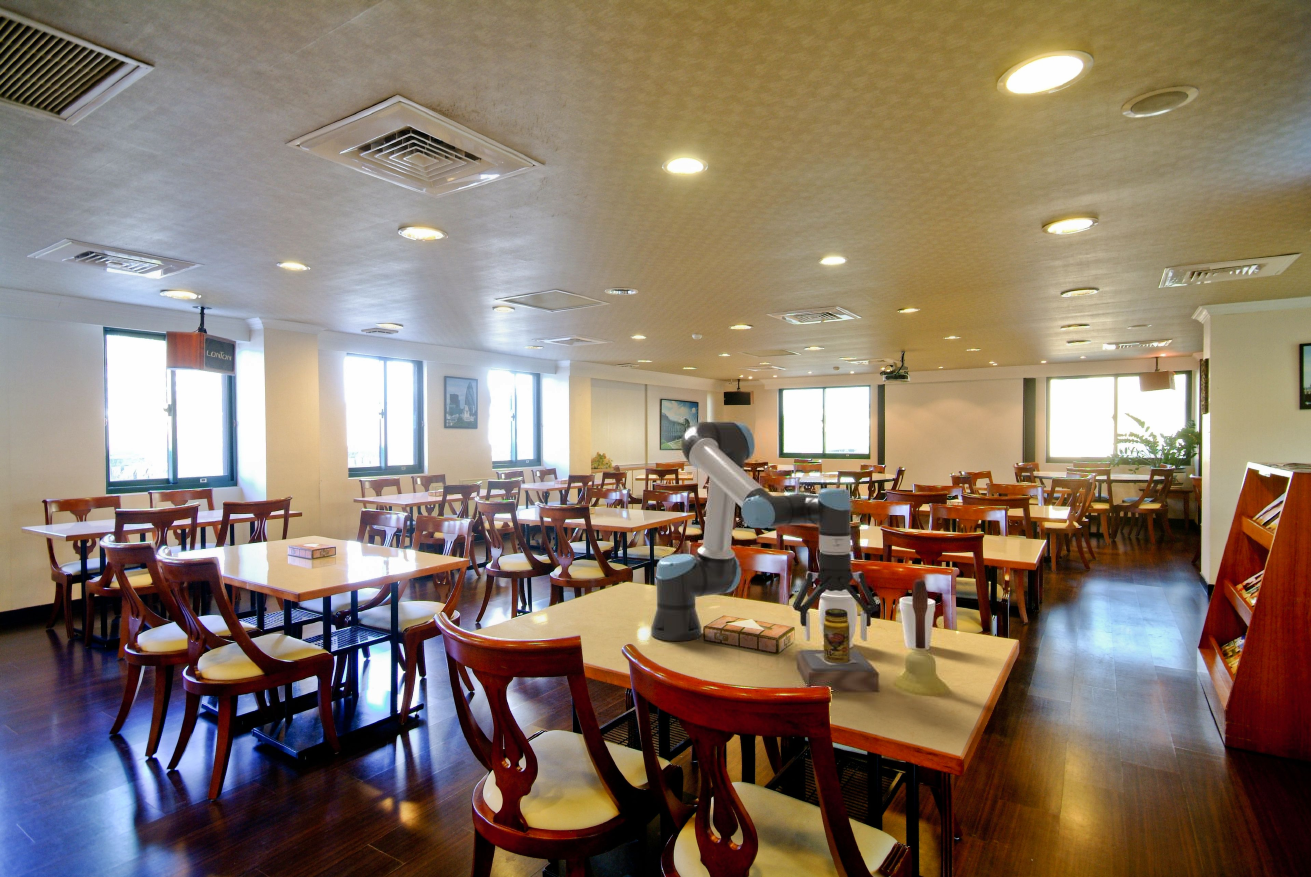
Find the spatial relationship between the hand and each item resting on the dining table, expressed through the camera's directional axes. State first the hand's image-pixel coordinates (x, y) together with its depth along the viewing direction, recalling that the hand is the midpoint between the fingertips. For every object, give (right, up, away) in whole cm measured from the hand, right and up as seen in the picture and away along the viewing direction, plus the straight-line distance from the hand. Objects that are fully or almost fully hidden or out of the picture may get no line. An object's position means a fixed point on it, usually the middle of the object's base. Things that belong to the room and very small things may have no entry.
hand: (835, 639), depth 164 cm
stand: (0, -10, 0) cm, 10 cm away
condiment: (0, -5, 0) cm, 5 cm away
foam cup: (+30, -10, +26) cm, 41 cm away
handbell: (+19, -10, -5) cm, 22 cm away
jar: (+8, -10, +28) cm, 31 cm away
